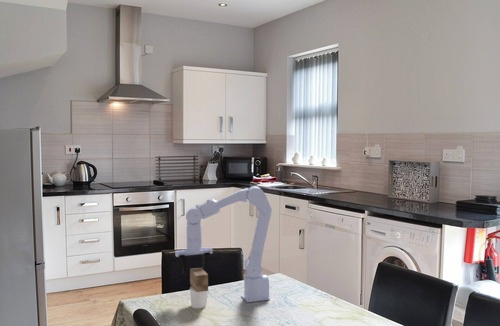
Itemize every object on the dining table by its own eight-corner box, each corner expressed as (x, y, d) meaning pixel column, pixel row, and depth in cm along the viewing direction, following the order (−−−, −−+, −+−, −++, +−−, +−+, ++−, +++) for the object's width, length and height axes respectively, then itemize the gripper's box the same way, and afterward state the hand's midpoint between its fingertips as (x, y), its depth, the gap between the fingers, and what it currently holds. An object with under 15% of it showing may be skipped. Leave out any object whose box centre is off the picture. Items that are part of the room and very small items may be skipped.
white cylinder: (205, 309, 165) (204, 290, 164) (187, 308, 166) (187, 289, 166) (210, 303, 172) (210, 285, 171) (193, 301, 173) (193, 283, 173)
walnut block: (201, 282, 174) (201, 267, 174) (208, 290, 165) (207, 274, 164) (190, 284, 172) (189, 268, 172) (196, 292, 163) (196, 275, 163)
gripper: (177, 242, 168) (177, 277, 169) (214, 239, 173) (214, 273, 174) (174, 238, 175) (174, 272, 176) (209, 235, 180) (210, 269, 181)
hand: (194, 273), depth 175 cm, fingers open, 7 cm apart
